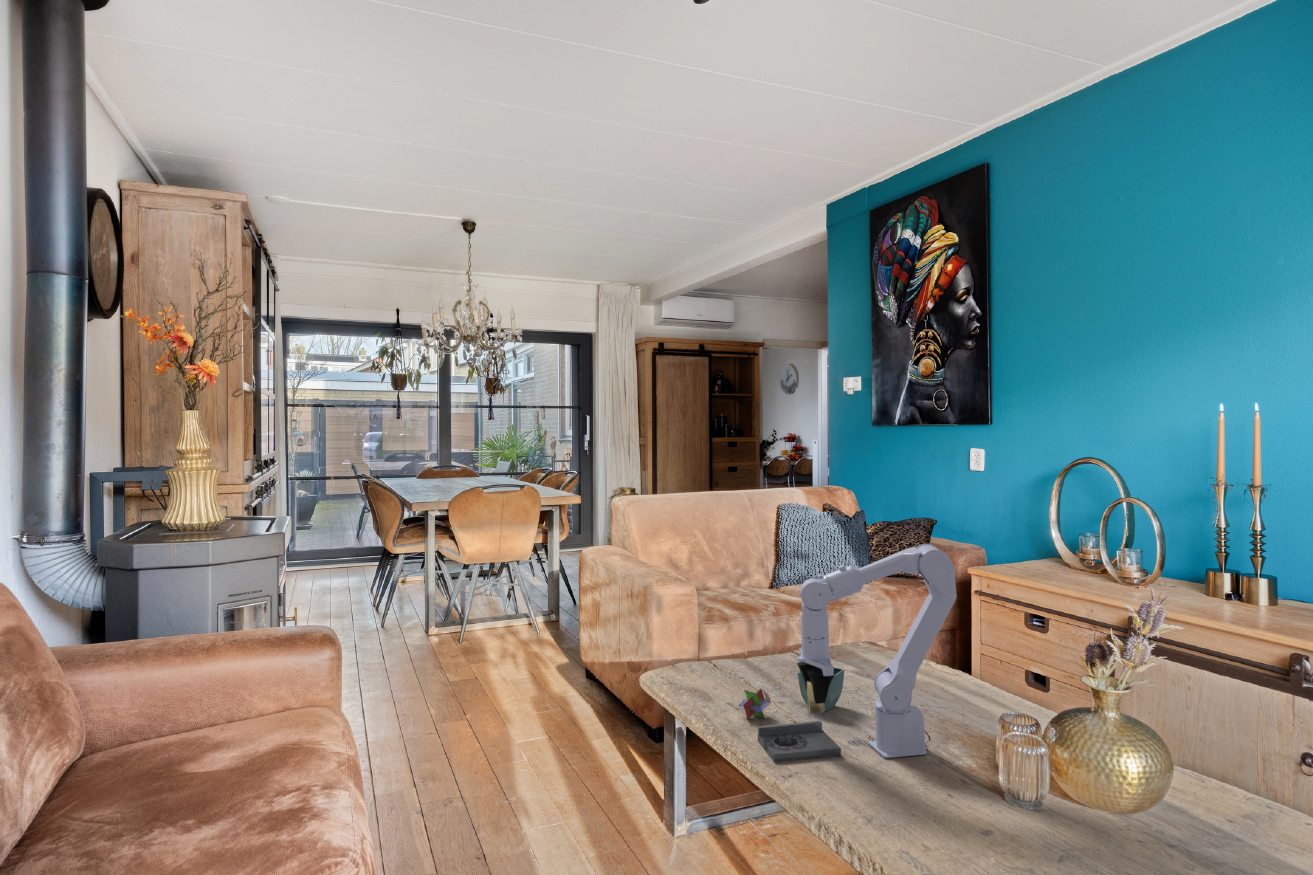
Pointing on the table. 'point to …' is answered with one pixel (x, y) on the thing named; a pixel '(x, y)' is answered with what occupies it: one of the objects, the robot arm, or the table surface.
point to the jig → (797, 741)
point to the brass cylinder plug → (811, 702)
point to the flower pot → (833, 689)
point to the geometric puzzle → (755, 703)
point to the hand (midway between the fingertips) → (816, 699)
